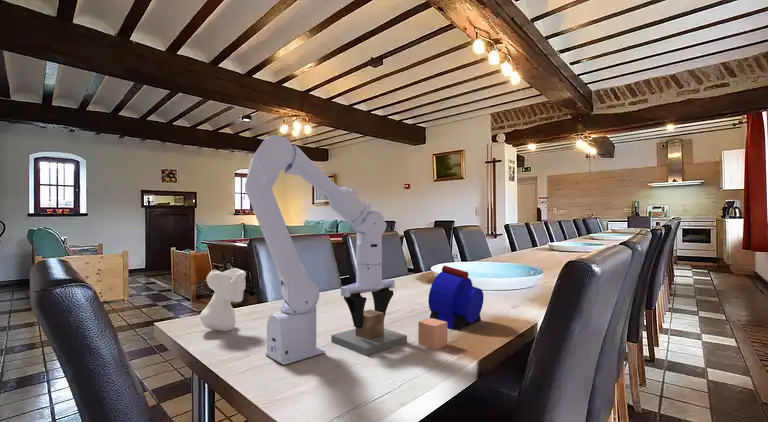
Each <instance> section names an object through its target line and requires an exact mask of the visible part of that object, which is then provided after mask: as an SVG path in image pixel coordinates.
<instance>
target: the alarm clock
mask: <svg viewBox="0 0 768 422" xmlns="http://www.w3.org/2000/svg"><path fill="white" fill-rule="evenodd" d="M429 289H430V290H429V293H428V308H429V310H430V315H429V319H430V318H433V319H437V320H441V321H445V322H447V330H448V329H449V330H452V331H461V330H462V329H463V327H464V326H465V324H466V323H467V322H468V323H470V324H472V323H473V324H474V322H476V321H482V319H481V312H482V309H483V305H484V292H483V290H482V288H479V287H476V286H473V282H472V279H471V278H470V277H469V272H468V271H464V270H462V269H458V268H456V267H455V268H454V267H451V266H448V265H443V266H442V267H441V272H439V273H438V274H437V275H436V277H434V280H433V282H432V284H431V286H430V288H429Z"/></svg>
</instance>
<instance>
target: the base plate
mask: <svg viewBox="0 0 768 422" xmlns="http://www.w3.org/2000/svg"><path fill="white" fill-rule="evenodd" d="M330 336H331V341H330V342H331V343H333V344H336V345H338V346H341V347H344V348H346V349H349V350H350V351H353V352H356V353H358V354H361V355H363V356H365V357H368V356H371V355H374V354H376V353H379V352H383V351H385V350H388V349H391V348H394V347H397V346H400V345H403V344H406V343H408V335H407V334H404V333H401V332H397V331H394V330H390V329H387V328H385V327H384V336H381V337H377V338H374V339H371V340H367V339H364V338H362V337H359V336H356V328H352V329H348V330H345V331H341V332H338V333H334V334H331V335H330Z"/></svg>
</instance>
